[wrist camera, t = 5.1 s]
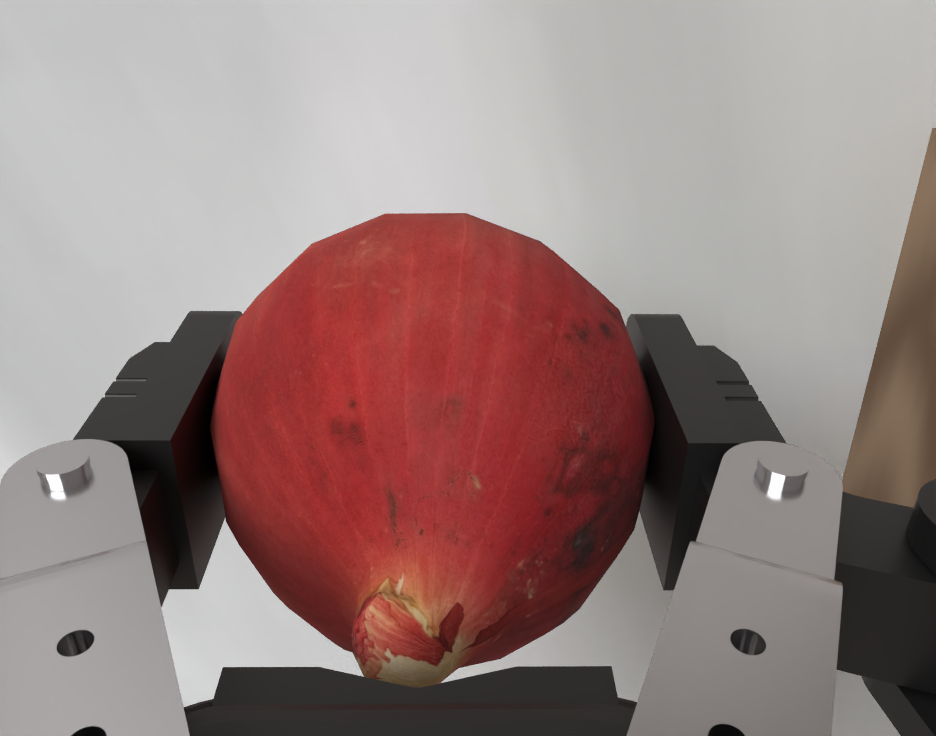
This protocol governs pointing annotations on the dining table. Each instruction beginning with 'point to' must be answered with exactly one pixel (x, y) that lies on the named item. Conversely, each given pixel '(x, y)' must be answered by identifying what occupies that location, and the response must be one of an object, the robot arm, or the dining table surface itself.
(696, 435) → the robot arm
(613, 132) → the dining table surface
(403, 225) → the onion
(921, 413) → the bottom block
